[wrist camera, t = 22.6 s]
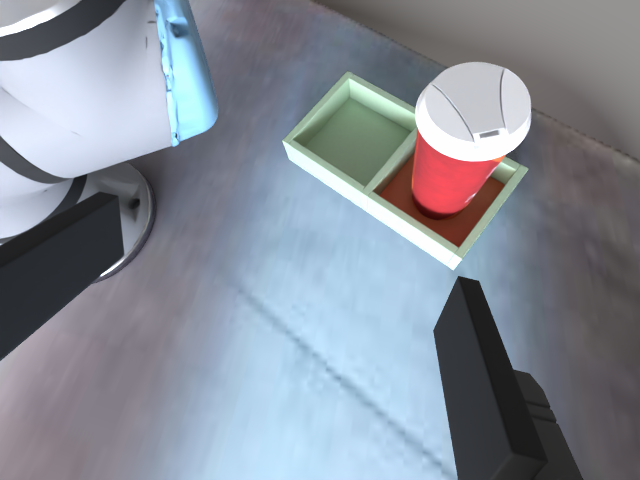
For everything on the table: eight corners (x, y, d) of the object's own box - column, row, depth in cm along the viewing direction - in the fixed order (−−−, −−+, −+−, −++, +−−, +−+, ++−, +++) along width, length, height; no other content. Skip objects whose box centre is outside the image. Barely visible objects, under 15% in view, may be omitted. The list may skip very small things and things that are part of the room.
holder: (288, 159, 42) (282, 140, 39) (349, 93, 44) (347, 70, 41) (453, 270, 36) (462, 259, 32) (514, 186, 38) (529, 168, 34)
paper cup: (488, 222, 36) (558, 136, 23) (410, 237, 36) (433, 160, 23) (465, 155, 39) (515, 43, 26) (392, 169, 39) (405, 66, 26)
